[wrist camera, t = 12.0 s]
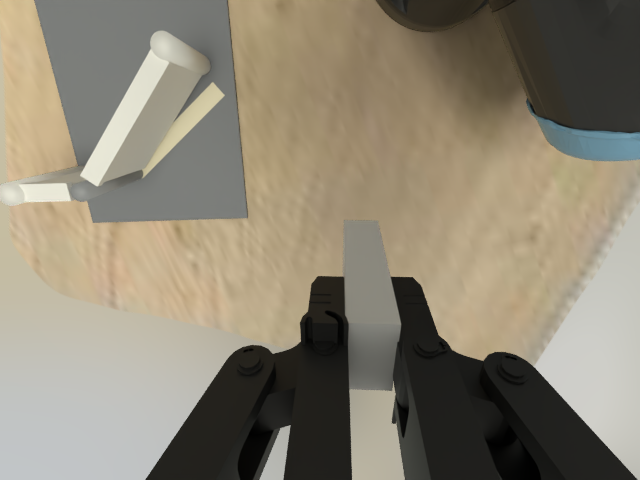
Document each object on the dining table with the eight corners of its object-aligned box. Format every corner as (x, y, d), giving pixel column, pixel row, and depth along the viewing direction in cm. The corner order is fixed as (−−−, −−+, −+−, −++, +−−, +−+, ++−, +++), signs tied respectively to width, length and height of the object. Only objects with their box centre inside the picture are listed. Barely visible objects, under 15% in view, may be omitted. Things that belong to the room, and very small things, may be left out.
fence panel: (197, 49, 35) (158, 24, 25) (214, 63, 36) (181, 43, 26) (132, 159, 39) (74, 174, 29) (147, 170, 39) (96, 188, 29)
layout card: (226, -7, 34) (225, -9, 34) (247, 217, 43) (247, 218, 42) (34, -8, 34) (31, -9, 33) (94, 221, 42) (92, 222, 41)
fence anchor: (141, 164, 39) (86, 181, 29) (145, 180, 40) (91, 203, 30) (73, 165, 39) (-8, 183, 29) (78, 182, 40) (0, 206, 29)
